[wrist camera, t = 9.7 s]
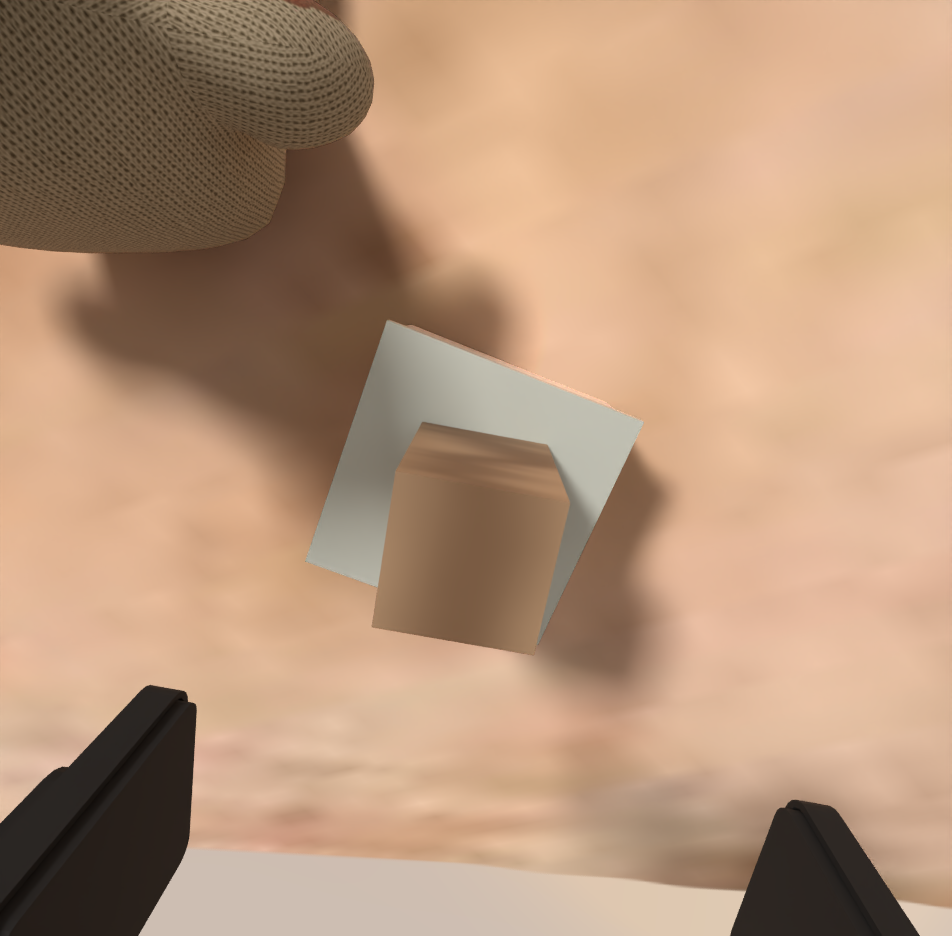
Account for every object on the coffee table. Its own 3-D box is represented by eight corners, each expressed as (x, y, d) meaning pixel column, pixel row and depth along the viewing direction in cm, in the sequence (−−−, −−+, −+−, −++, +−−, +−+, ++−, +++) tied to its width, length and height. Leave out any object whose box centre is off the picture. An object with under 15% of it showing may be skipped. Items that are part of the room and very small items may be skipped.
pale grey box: (613, 397, 29) (644, 422, 23) (529, 582, 32) (537, 645, 26) (407, 315, 28) (387, 320, 23) (339, 512, 31) (305, 561, 25)
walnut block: (547, 444, 24) (570, 503, 17) (521, 559, 25) (534, 655, 18) (422, 421, 24) (395, 471, 17) (403, 538, 25) (371, 627, 18)
